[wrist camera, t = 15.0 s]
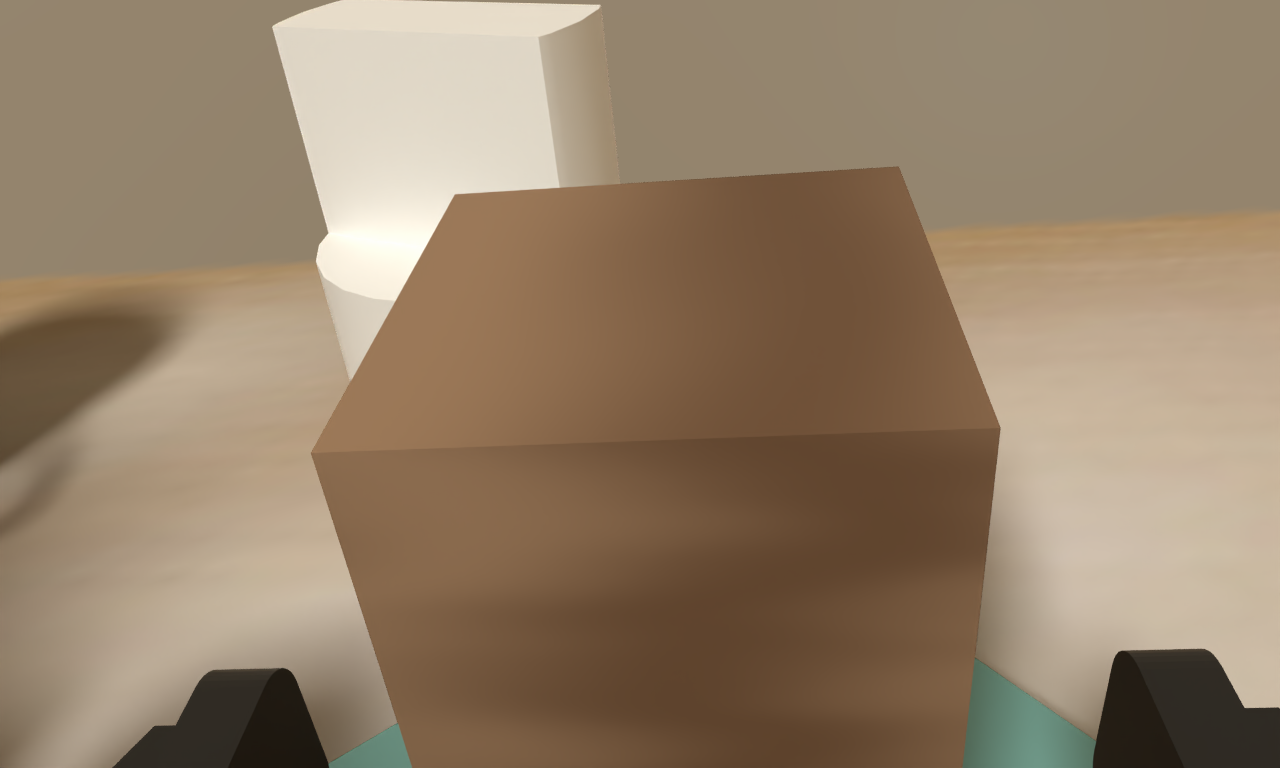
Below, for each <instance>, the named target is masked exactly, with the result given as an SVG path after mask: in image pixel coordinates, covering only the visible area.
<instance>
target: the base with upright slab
mask: <svg viewBox="0 0 1280 768" xmlns="http://www.w3.org/2000/svg"><path fill="white" fill-rule="evenodd" d="M272 27H273V31H274V35H275V39H276V42H277V46H278V49H279V53H280V57H281V61H282V64H283V68H284V71H285V75H286V79H287V83H288V86H289V90H290V93H291V97H292V100H293V104H294V108H295V112H296V116H297V119H298V123H299V126H300V130H301V134H302V138H303V141H304V145H305V148H306V152H307V156H308V160H309V163H310V167H311V171H312V174H313V178H314V181H315V185H316V189H317V192H318V196H319V200H320V203H321V207H322V211H323V214H324V218H325V221H326V225H327V229H328V232H329V233H328V235H327V236H326V238H324V240H323V241H322V242H321V243H320V245H319V249H318V254H317V259H316V264H317V267H318V271H319V274H320V278H321V281H322V285H323V288H324V292H325V295H326V299H327V302H328V306H329V309H330V313H331V316H332V320H333V323H334V327H335V330H336V334H337V337H338V341H339V344H340V348H341V351H342V355H343V358H344V362H345V365H346V369H347V373H348V376H349V380H350V382H351V380H352V378H353V376H354V375H355V373H356V371H357V369H358V367H359V366H360V364H361V362H362V360H363V358H364V357H365V355H366V353H367V351H368V349H369V348H370V346H371V344H372V342H373V340H374V339H375V337H376V335H377V333H378V331H379V330H380V328H381V326H382V324H383V322H384V321H385V319H386V317H387V315H388V314H389V312H390V310H391V308H392V306H393V305H394V303H395V301H396V299H397V297H398V296H399V294H400V292H401V290H402V288H403V287H404V285H405V283H406V281H407V279H408V278H409V276H410V274H411V272H412V270H413V269H414V267H415V265H416V263H417V261H418V260H419V258H420V256H421V254H422V252H423V251H424V249H425V247H426V245H427V243H428V242H429V240H430V238H431V236H432V234H433V233H434V231H435V229H436V227H437V225H438V224H439V222H440V220H441V218H442V216H443V215H444V213H445V211H446V209H447V207H448V206H449V204H450V202H451V200H452V198H453V197H454V195H455V194H467V193H483V192H499V191H515V190H531V189H547V188H563V187H579V186H595V185H611V184H620V178H619V168H618V159H617V150H616V140H615V132H614V122H613V113H612V104H611V94H610V85H609V76H608V67H607V57H606V48H605V39H604V30H603V20H602V11H601V5H579V4H535V3H491V2H446V1H445V2H444V1H401V0H341V1H337V2H334V3H331V4H327V5H324V6H321V7H318V8H315V9H311V10H308V11H305V12H302V13H300V14H297V15H295V16H293V17H290V18H288V19H286V20H284V21H281V22H279V23H277V24H275V25H274V26H272Z"/></svg>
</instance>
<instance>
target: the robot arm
mask: <svg viewBox="0 0 1280 768" xmlns="http://www.w3.org/2000/svg"><path fill="white" fill-rule="evenodd" d="M113 768H329V765H328V761H327V759H326V756H325V753H324V751H323V748H322V746H321V743H320V740H319V738H318V735H317V733H316V730H315V727H314V725H313V722H312V720H311V717H310V715H309V712H308V709H307V707H306V704H305V702H304V699H303V696H302V694H301V691H300V689H299V686H298V683H297V681H296V679H295V677H294V675H293V674H292V673H291V672H290V671H289V670H288V669H285V668H273V669H232V670H212V671H210V672H208V673H207V674H206V675H204V676H203V678H202V679H201V680H200V681H199V683H198V684H197V686H196V688H195V690H194V691H193V693H192V695H191V697H190V699H189V701H188V703H187V705H186V707H185V709H184V710H183V712H182V714H181V716H180V718H179V720H178V722H177V724H176V726H154V727H153V728H152V729H151V730H150V731H149V732H148V733H147V734H146V735H145V736H144V737H143V738H142V739H141V740H140V741H139V742H138V743H137V744H136V745H135V746H134V747H133V748H132V749H131V750H130V751H129V752H128V753H127V754H126V755H125V756H124V757H123V758H122V759H121V760H120V761H119V762H118V763H117V764H116V765H115V766H114V767H113ZM1093 768H1280V708H1244V706H1243V705H1242V703H1241V701H1240V699H1239V697H1238V695H1237V693H1236V692H1235V690H1234V688H1233V686H1232V684H1231V682H1230V681H1229V679H1228V677H1227V675H1226V673H1225V671H1224V670H1223V668H1222V666H1221V664H1220V663H1219V661H1218V660H1217V659H1216V657H1215V656H1214V655H1213V654H1212V653H1211V652H1209V651H1208V650H1206V649H1172V650H1130V651H1120V652H1118V653H1117V655H1116V656H1115V658H1114V661H1113V664H1112V669H1111V673H1110V678H1109V683H1108V688H1107V692H1106V697H1105V702H1104V707H1103V711H1102V716H1101V721H1100V726H1099V730H1098V735H1097V740H1096V745H1095V749H1094V755H1093Z"/></svg>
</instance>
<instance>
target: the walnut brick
mask: <svg viewBox="0 0 1280 768" xmlns="http://www.w3.org/2000/svg"><path fill="white" fill-rule="evenodd" d="M999 437H1000V425H999V423H998V420H997V418H996V415H995V412H994V410H993V407H992V405H991V402H990V400H989V397H988V394H987V392H986V389H985V387H984V384H983V382H982V379H981V376H980V374H979V371H978V369H977V366H976V364H975V361H974V359H973V356H972V353H971V351H970V348H969V346H968V343H967V341H966V338H965V335H964V333H963V330H962V328H961V325H960V323H959V320H958V317H957V315H956V312H955V310H954V307H953V305H952V302H951V299H950V297H949V294H948V292H947V289H946V287H945V284H944V281H943V279H942V276H941V274H940V271H939V269H938V266H937V264H936V261H935V258H934V256H933V253H932V251H931V248H930V246H929V243H928V240H927V238H926V235H925V233H924V230H923V228H922V225H921V223H920V220H919V217H918V215H917V212H916V210H915V207H914V204H913V202H912V199H911V197H910V194H909V192H908V189H907V186H906V184H905V181H904V179H903V176H902V174H901V171H900V169H899V167H884V168H867V169H851V170H837V171H836V170H835V171H819V172H803V173H788V174H771V175H755V176H739V177H725V178H707V179H691V180H675V181H659V182H643V183H628V184H611V185H595V186H579V187H563V188H547V189H531V190H515V191H499V192H483V193H467V194H455V195H454V197H453V198H452V200H451V202H450V204H449V206H448V207H447V209H446V211H445V213H444V215H443V216H442V218H441V220H440V222H439V224H438V225H437V227H436V229H435V231H434V233H433V234H432V236H431V238H430V240H429V242H428V243H427V245H426V247H425V249H424V251H423V252H422V254H421V256H420V258H419V260H418V261H417V263H416V265H415V267H414V269H413V270H412V272H411V274H410V276H409V278H408V279H407V281H406V283H405V285H404V287H403V288H402V290H401V292H400V294H399V296H398V297H397V299H396V301H395V303H394V305H393V306H392V308H391V310H390V312H389V314H388V315H387V317H386V319H385V321H384V322H383V324H382V326H381V328H380V330H379V331H378V333H377V335H376V337H375V339H374V340H373V342H372V344H371V346H370V348H369V349H368V351H367V353H366V355H365V357H364V358H363V360H362V362H361V364H360V366H359V367H358V369H357V371H356V373H355V375H354V376H353V378H352V380H351V382H350V384H349V385H348V387H347V389H346V391H345V393H344V394H343V396H342V398H341V400H340V402H339V403H338V405H337V407H336V409H335V411H334V412H333V414H332V416H331V418H330V420H329V421H328V423H327V425H326V427H325V429H324V430H323V432H322V434H321V436H320V438H319V439H318V441H317V443H316V445H315V446H314V448H313V450H312V452H311V455H312V458H313V461H314V464H315V467H316V470H317V473H318V477H319V480H320V483H321V486H322V489H323V492H324V495H325V498H326V501H327V505H328V508H329V511H330V514H331V517H332V520H333V523H334V526H335V529H336V532H337V536H338V539H339V542H340V545H341V548H342V551H343V554H344V557H345V560H346V564H347V567H348V570H349V573H350V576H351V579H352V582H353V585H354V588H355V592H356V595H357V598H358V601H359V604H360V607H361V610H362V613H363V616H364V620H365V623H366V626H367V629H368V632H369V635H370V638H371V641H372V644H373V647H374V651H375V654H376V657H377V660H378V663H379V666H380V669H381V672H382V675H383V679H384V682H385V685H386V688H387V691H388V694H389V697H390V700H391V703H392V707H393V710H394V713H395V716H396V719H397V722H398V725H399V728H400V731H401V734H402V738H403V741H404V744H405V747H406V750H407V753H408V756H409V759H410V762H411V766H412V768H962V767H963V758H964V749H965V740H966V731H967V722H968V713H969V704H970V695H971V687H972V678H973V669H974V660H975V651H976V642H977V633H978V624H979V615H980V606H981V597H982V588H983V580H984V571H985V562H986V553H987V544H988V535H989V526H990V517H991V508H992V499H993V490H994V481H995V473H996V464H997V455H998V446H999Z"/></svg>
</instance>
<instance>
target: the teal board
mask: <svg viewBox="0 0 1280 768" xmlns="http://www.w3.org/2000/svg"><path fill="white" fill-rule="evenodd" d="M1095 745H1096V741H1095V740H1093V739H1092V738H1091V737H1089V736H1088V735H1086V734H1085V733H1083V732H1082V731H1080V730H1079V729H1078V728H1076V727H1075V726H1073V725H1072V724H1070V723H1069V722H1067V721H1066V720H1064V719H1063V718H1062V717H1060V716H1059V715H1057V714H1056V713H1054V712H1053V711H1051V710H1050V709H1049V708H1047V707H1046V706H1044V705H1043V704H1041V703H1040V702H1038V701H1037V700H1035V699H1034V698H1033V697H1031V696H1030V695H1028V694H1027V693H1025V692H1024V691H1022V690H1021V689H1020V688H1018V687H1017V686H1015V685H1014V684H1012V683H1011V682H1009V681H1008V680H1006V679H1005V678H1004V677H1002V676H1001V675H999V674H998V673H996V672H995V671H993V670H992V669H991V668H989V667H988V666H986V665H985V664H983V663H982V662H980V661H979V660H977V659H976V658H975V660H974V669H973V678H972V687H971V695H970V704H969V713H968V722H967V731H966V740H965V749H964V758H963V767H962V768H1093V755H1094V749H1095ZM328 765H329V768H412V766H411V762H410V759H409V756H408V753H407V750H406V747H405V744H404V741H403V738H402V734H401V731H400V728H399V725H398V723H397V724H395V725H393V726H392V727H390V728H388V729H386V730H385V731H383V732H381V733H380V734H378V735H376V736H375V737H373V738H371V739H369V740H368V741H366V742H364V743H363V744H361V745H359V746H358V747H356V748H354V749H352V750H351V751H349V752H347V753H346V754H344V755H342V756H341V757H339V758H337V759H335V760H334V761H332V762H330V763H329V764H328Z"/></svg>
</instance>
